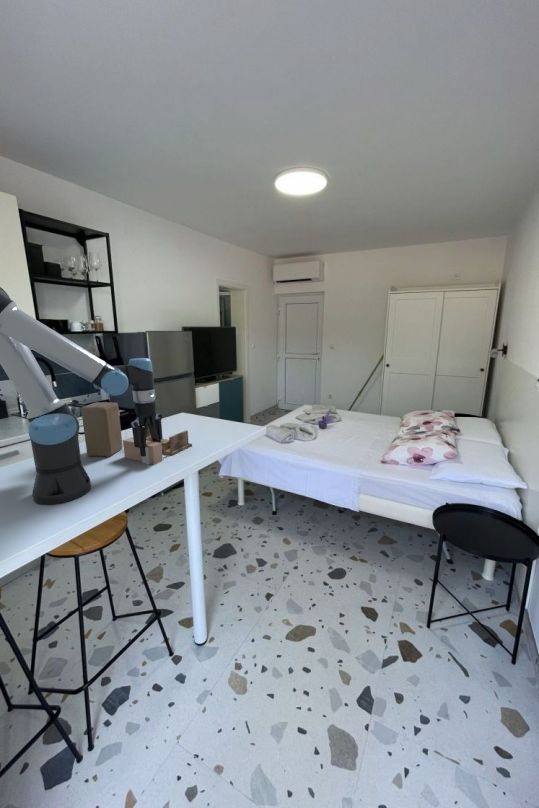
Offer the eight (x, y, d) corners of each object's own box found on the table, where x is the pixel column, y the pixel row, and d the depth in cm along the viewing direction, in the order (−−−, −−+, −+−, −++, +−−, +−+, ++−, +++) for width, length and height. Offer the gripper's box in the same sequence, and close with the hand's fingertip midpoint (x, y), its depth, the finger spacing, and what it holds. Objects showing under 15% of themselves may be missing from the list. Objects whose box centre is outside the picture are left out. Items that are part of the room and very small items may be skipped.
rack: (172, 455, 131) (171, 438, 129) (132, 447, 140) (130, 431, 139) (192, 446, 141) (191, 430, 140) (153, 439, 151) (152, 424, 149)
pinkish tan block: (154, 464, 122) (153, 446, 121) (124, 457, 129) (122, 440, 128) (162, 460, 126) (161, 443, 124) (133, 453, 133) (131, 437, 131)
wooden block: (123, 448, 139) (118, 402, 135) (110, 457, 129) (104, 407, 125) (101, 447, 140) (95, 401, 136) (86, 456, 130) (79, 407, 126)
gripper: (133, 407, 112) (140, 471, 117) (169, 397, 127) (174, 454, 132) (117, 405, 115) (125, 468, 120) (154, 395, 130) (160, 452, 135)
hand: (151, 461), depth 126 cm, fingers closed on pinkish tan block, 4 cm apart
